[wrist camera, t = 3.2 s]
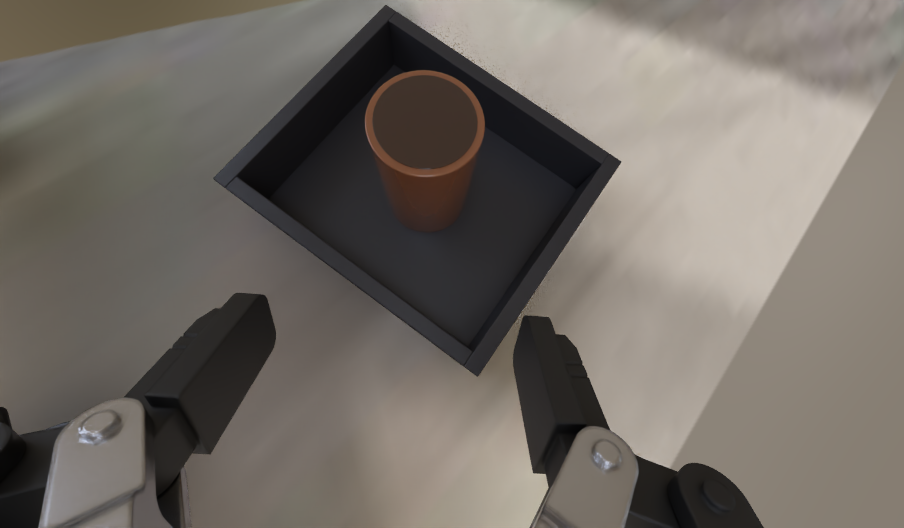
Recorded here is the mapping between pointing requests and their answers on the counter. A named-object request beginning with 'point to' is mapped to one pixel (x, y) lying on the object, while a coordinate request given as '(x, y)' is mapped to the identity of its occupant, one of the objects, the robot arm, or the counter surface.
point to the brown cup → (425, 146)
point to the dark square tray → (367, 210)
